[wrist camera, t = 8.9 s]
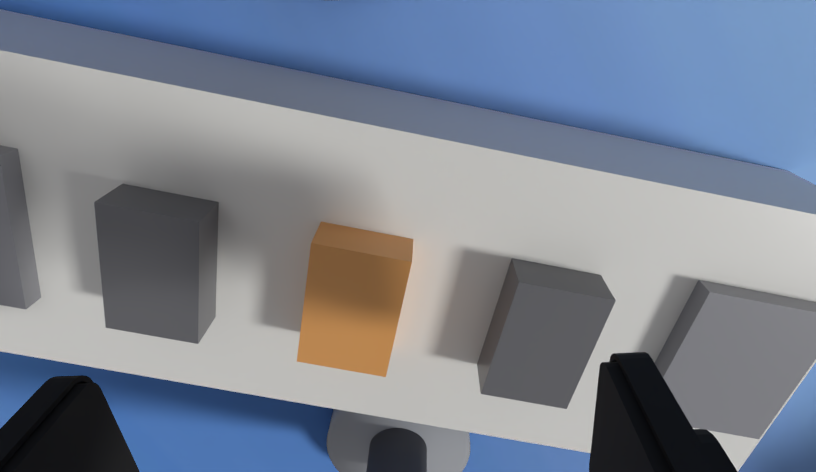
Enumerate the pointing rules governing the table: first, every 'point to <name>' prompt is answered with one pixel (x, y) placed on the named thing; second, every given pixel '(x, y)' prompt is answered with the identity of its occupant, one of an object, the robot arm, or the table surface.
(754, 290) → the breaker strip
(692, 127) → the table surface
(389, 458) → the post
